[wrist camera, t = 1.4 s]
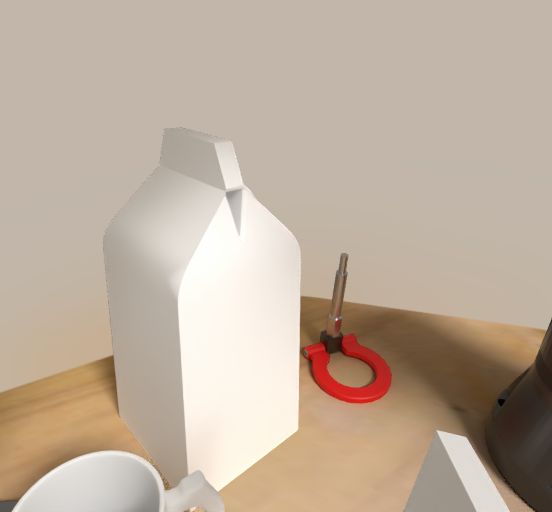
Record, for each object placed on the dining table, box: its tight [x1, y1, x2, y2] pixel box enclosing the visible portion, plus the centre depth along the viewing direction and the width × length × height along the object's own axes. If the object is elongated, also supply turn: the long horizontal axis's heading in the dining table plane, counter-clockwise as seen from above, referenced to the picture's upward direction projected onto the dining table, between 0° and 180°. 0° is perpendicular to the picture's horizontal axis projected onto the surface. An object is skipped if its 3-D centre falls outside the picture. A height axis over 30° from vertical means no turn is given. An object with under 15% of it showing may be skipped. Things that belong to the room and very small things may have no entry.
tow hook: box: [303, 253, 392, 403], centre depth 43 cm, size 8×13×9 cm
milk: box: [103, 127, 301, 512], centre depth 33 cm, size 12×12×26 cm
